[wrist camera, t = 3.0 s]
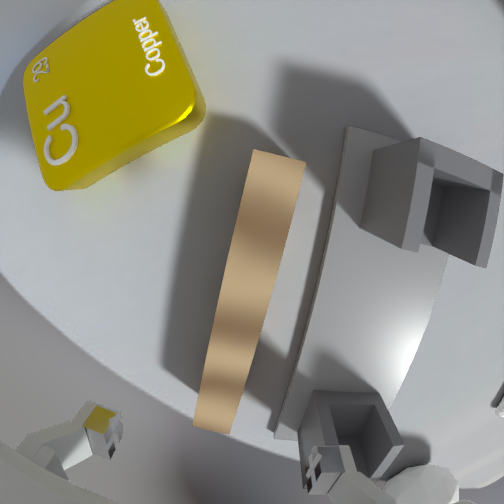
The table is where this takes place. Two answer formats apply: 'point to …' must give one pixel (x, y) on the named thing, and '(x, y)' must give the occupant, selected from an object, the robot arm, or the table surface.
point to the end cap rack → (382, 288)
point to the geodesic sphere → (423, 486)
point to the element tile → (109, 93)
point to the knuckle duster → (500, 408)
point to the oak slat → (247, 285)
